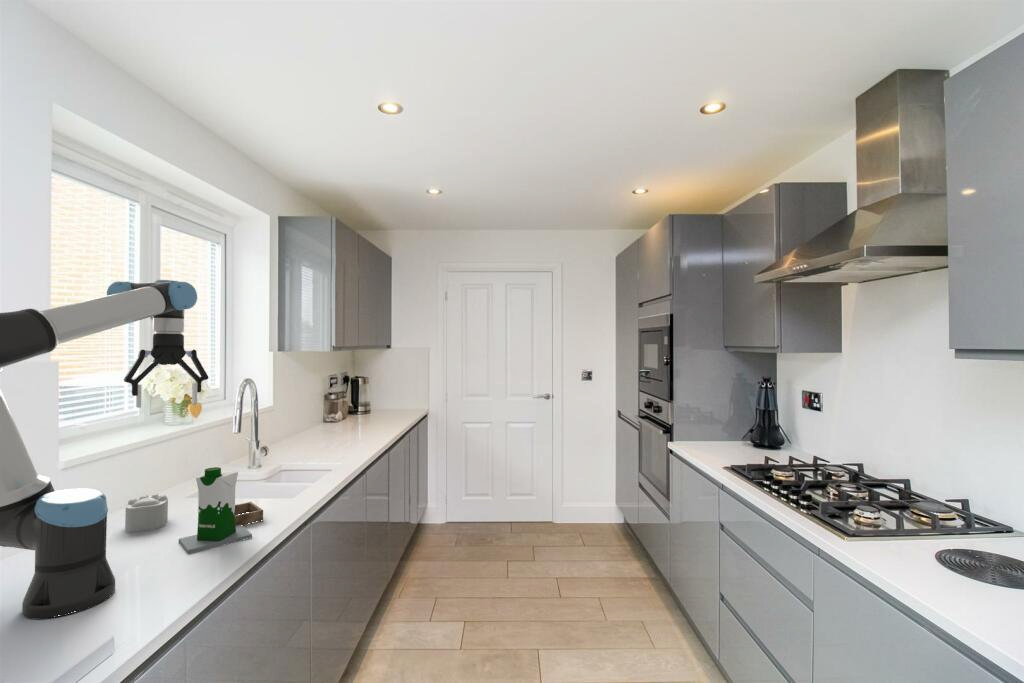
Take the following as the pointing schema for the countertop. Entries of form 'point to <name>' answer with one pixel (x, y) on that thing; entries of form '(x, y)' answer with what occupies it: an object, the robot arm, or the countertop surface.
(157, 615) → the countertop surface
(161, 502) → the lumpy-topped squat cylinder
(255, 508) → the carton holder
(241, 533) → the mat
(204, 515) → the soya milk
